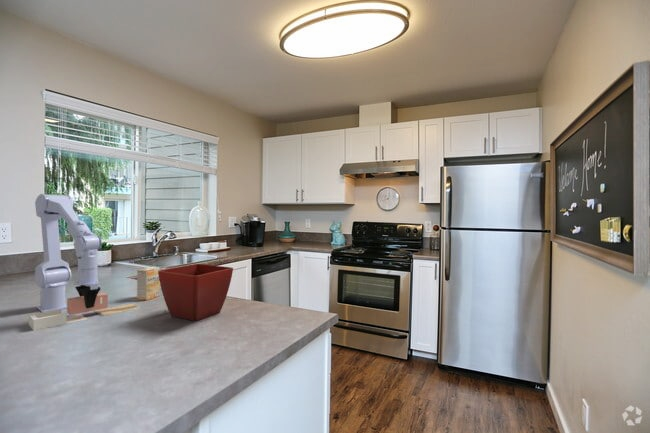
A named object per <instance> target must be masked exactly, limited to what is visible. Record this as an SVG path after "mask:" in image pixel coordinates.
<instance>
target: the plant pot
mask: <svg viewBox="0 0 650 433" xmlns="http://www.w3.org/2000/svg"><path fill="white" fill-rule="evenodd" d="M233 272H234V267H231V266H223V265H212V264H203V263H194V264H188V265H182V266H177V267H171V268H165V269H160V270H159V271H158V275H159V281H160V289H161V293H162V296H163V299H164V302H165V304H166V307H167V310H168V312H169V314H170V316H171V317H175V318H180V319H185V320H188V321H191V322H197V321H199V320H202V319H204V318H207V317H210V316H213V315H215V314H218V313H220V312H221V311H222V308H223V306H224V303H225V300H226V298H227V296H228V293H229V290H230V289H229V288H230V286H231V281H232V277H233Z"/></svg>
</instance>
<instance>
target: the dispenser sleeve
mask: <svg viewBox="0 0 650 433" xmlns="http://www.w3.org/2000/svg"><path fill="white" fill-rule="evenodd" d="M95 312H96V313H95ZM93 313H95V314H97V315H99V316H100V317H104V315H103V314H101V313H99V312H98V311H96V310H94V311H93ZM85 320H88V318H87V317H86V316H85V315H83V314H82V313H79V314H74V315H69V316H67V312H63V313H62V309H58V310H53V311H47V312H37V313H32V314H28V326H29V327H30V328H31V329H32V331H39V330H43V329H48V328H53V327H57V326H61V325H65V324H70V323H77V322H80V321H85Z"/></svg>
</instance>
